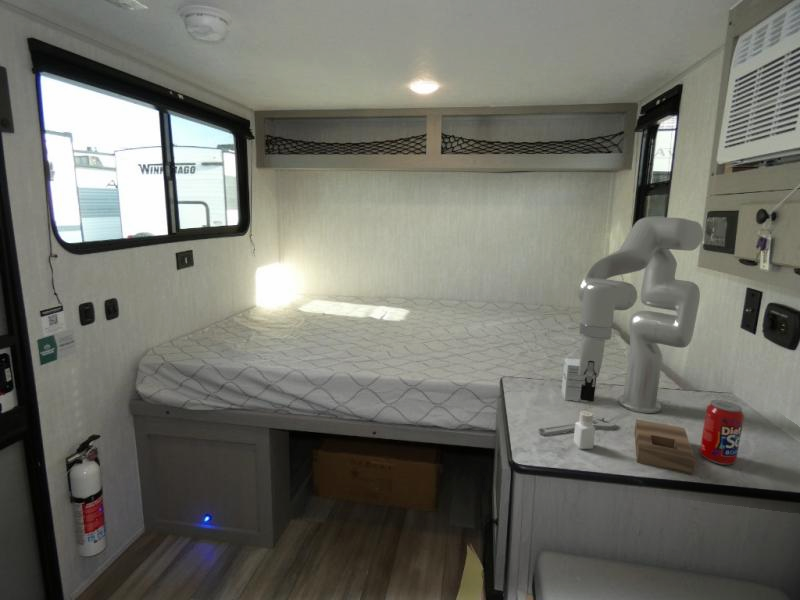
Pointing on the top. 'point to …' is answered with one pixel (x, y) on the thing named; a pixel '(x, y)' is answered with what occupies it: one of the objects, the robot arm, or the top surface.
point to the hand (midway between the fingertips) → (587, 393)
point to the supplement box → (572, 380)
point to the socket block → (663, 446)
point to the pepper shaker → (584, 431)
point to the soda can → (722, 432)
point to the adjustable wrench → (596, 422)
